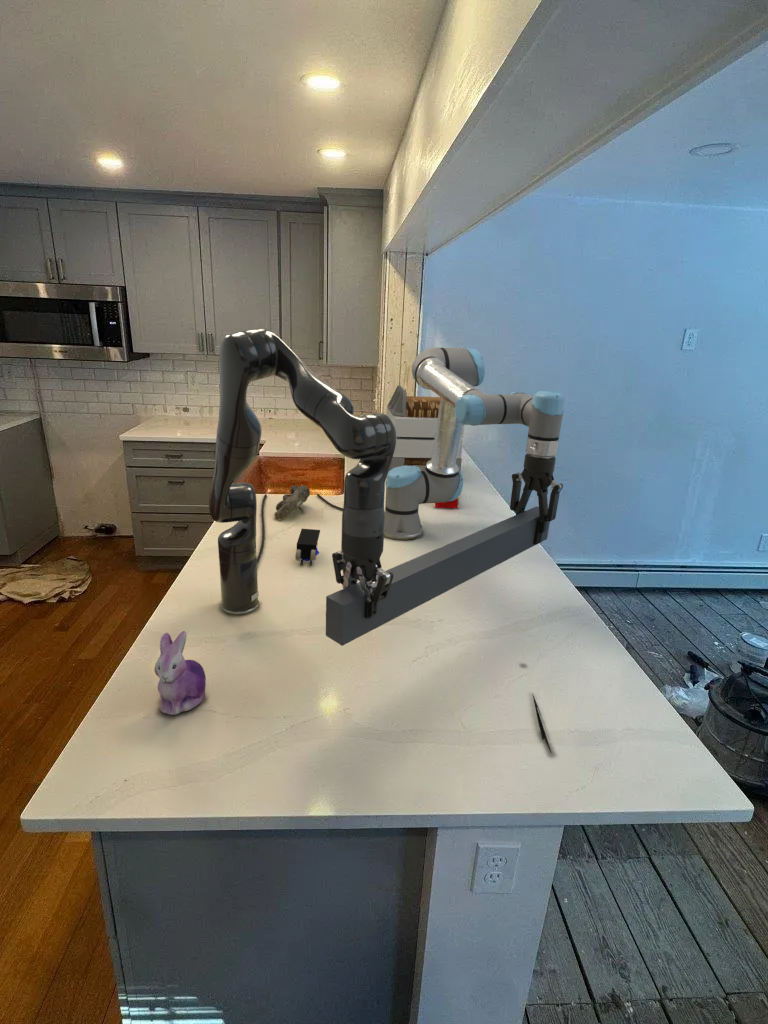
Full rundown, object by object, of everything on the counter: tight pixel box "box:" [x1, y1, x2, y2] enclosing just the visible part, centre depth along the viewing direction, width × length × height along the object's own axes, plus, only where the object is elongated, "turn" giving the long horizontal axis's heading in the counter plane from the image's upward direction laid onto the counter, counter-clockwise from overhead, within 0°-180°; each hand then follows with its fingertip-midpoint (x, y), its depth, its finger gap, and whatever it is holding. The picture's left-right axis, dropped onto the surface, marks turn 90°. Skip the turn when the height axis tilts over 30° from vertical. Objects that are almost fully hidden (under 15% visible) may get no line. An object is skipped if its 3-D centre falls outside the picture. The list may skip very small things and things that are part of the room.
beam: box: [325, 506, 551, 647], centre depth 127 cm, size 75×5×8 cm, turn 137°
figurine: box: [153, 630, 207, 716], centre depth 109 cm, size 9×10×15 cm
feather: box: [522, 663, 555, 753], centre depth 115 cm, size 2×28×2 cm
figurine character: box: [295, 528, 321, 566], centre depth 176 cm, size 7×8×15 cm
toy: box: [434, 496, 460, 509], centre depth 239 cm, size 12×13×30 cm
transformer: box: [385, 384, 465, 473], centre depth 268 cm, size 34×33×41 cm
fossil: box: [273, 484, 311, 521], centre depth 215 cm, size 22×10×15 cm
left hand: (360, 611), depth 106 cm, fingers closed on beam, 4 cm apart
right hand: (528, 540), depth 150 cm, fingers closed on beam, 5 cm apart
